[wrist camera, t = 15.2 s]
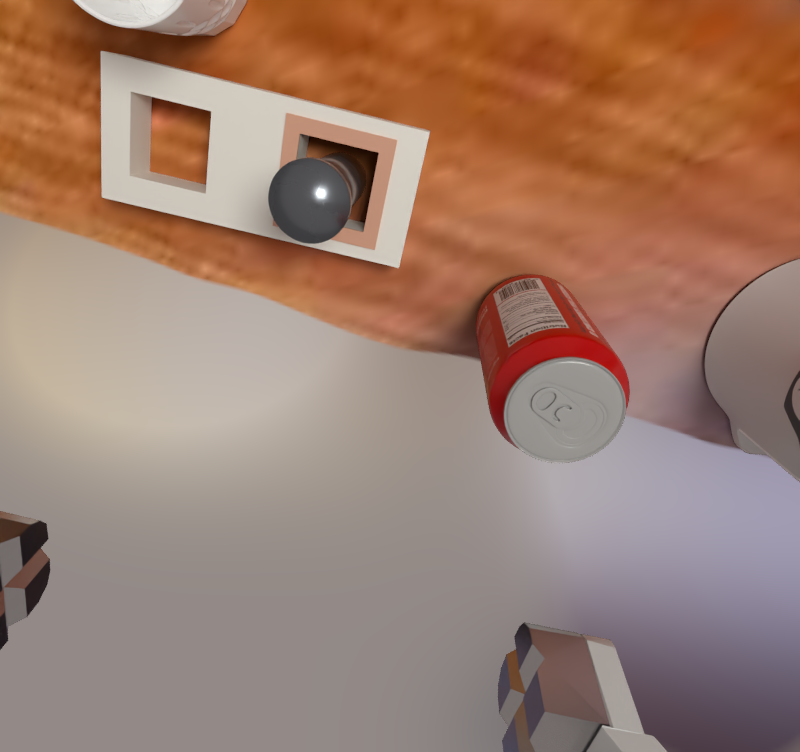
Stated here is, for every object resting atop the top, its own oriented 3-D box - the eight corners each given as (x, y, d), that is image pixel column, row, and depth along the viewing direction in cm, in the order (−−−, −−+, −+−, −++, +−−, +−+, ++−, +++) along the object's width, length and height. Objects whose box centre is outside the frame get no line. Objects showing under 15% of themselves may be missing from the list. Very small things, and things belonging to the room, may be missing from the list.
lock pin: (377, 154, 39) (356, 169, 29) (365, 217, 41) (341, 252, 31) (315, 139, 39) (273, 149, 29) (306, 202, 41) (263, 233, 31)
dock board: (430, 130, 39) (429, 132, 36) (401, 257, 42) (398, 268, 40) (124, 54, 38) (99, 50, 35) (123, 191, 42) (100, 197, 39)
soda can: (521, 249, 42) (562, 317, 28) (598, 311, 43) (672, 403, 30) (454, 328, 45) (461, 423, 31) (529, 383, 46) (566, 497, 33)
